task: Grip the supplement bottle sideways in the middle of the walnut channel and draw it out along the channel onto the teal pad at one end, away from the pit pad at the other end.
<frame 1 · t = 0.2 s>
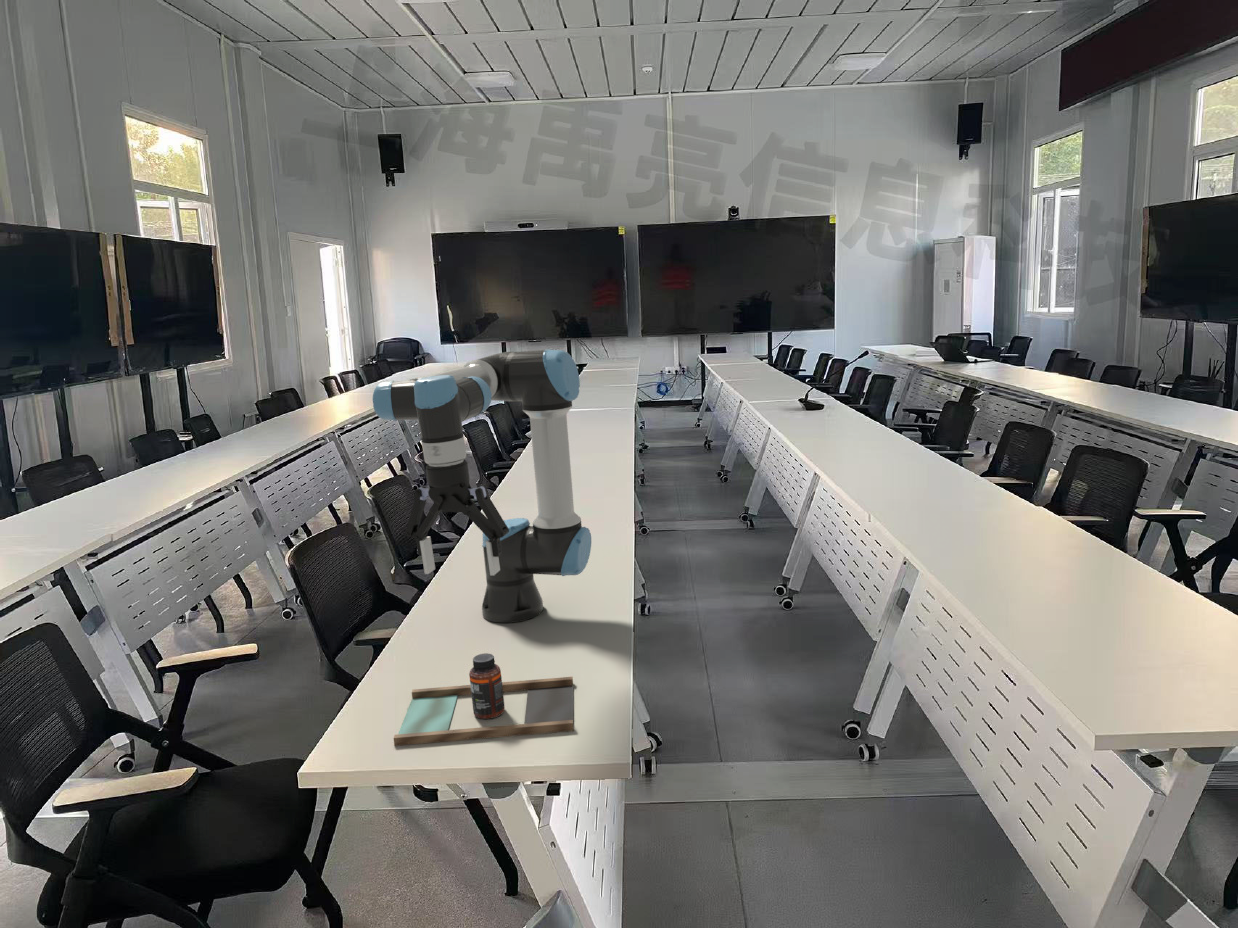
hand: (462, 572, 161), 27 cm above the table, tool pointing down, fingers open, 13 cm apart
channel track: (489, 712, 164), on the table
supplement bottle: (489, 713, 164), on the table
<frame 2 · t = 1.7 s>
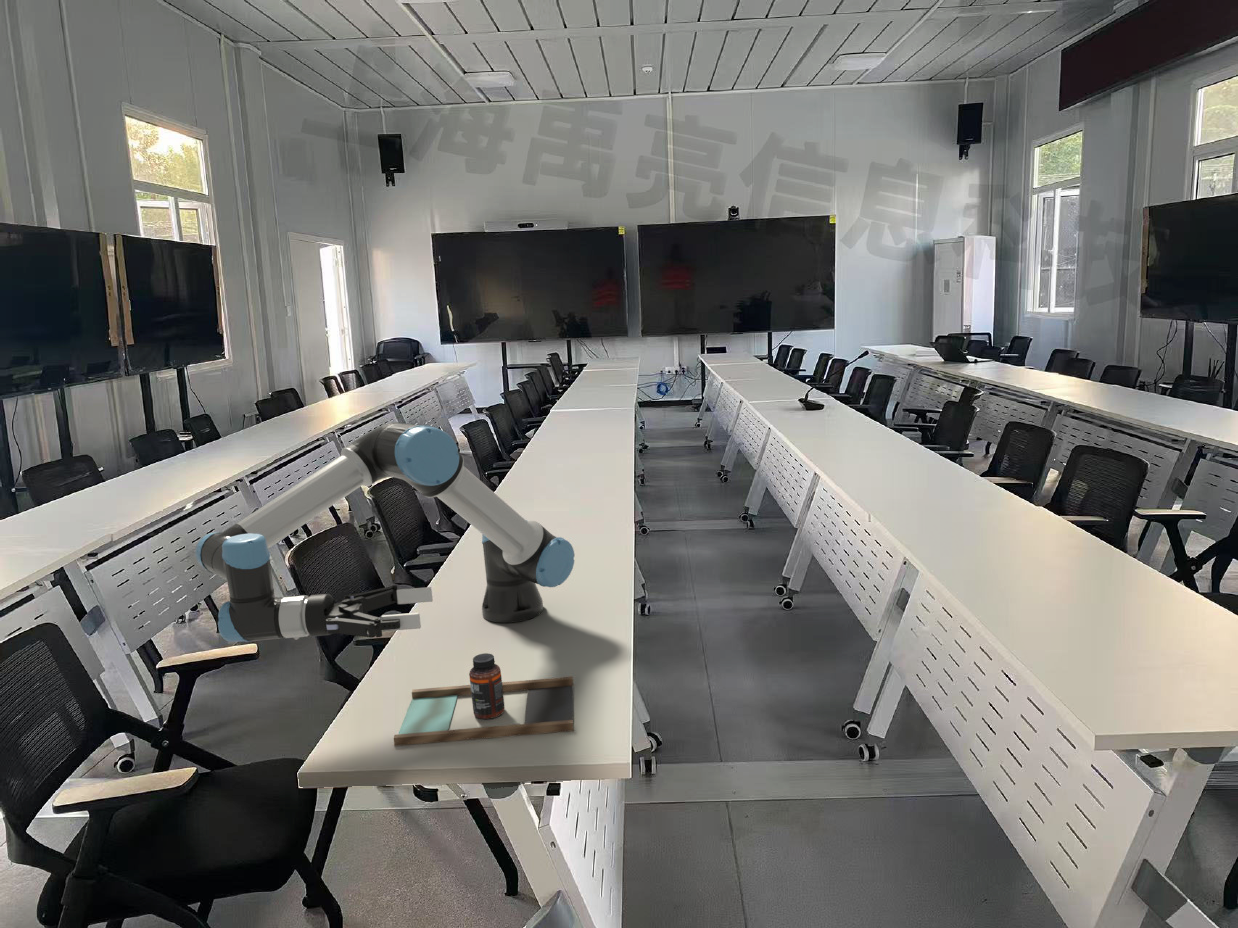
hand: (426, 606, 159), 22 cm above the table, tool horizontal, fingers open, 13 cm apart
nothing on the table moved.
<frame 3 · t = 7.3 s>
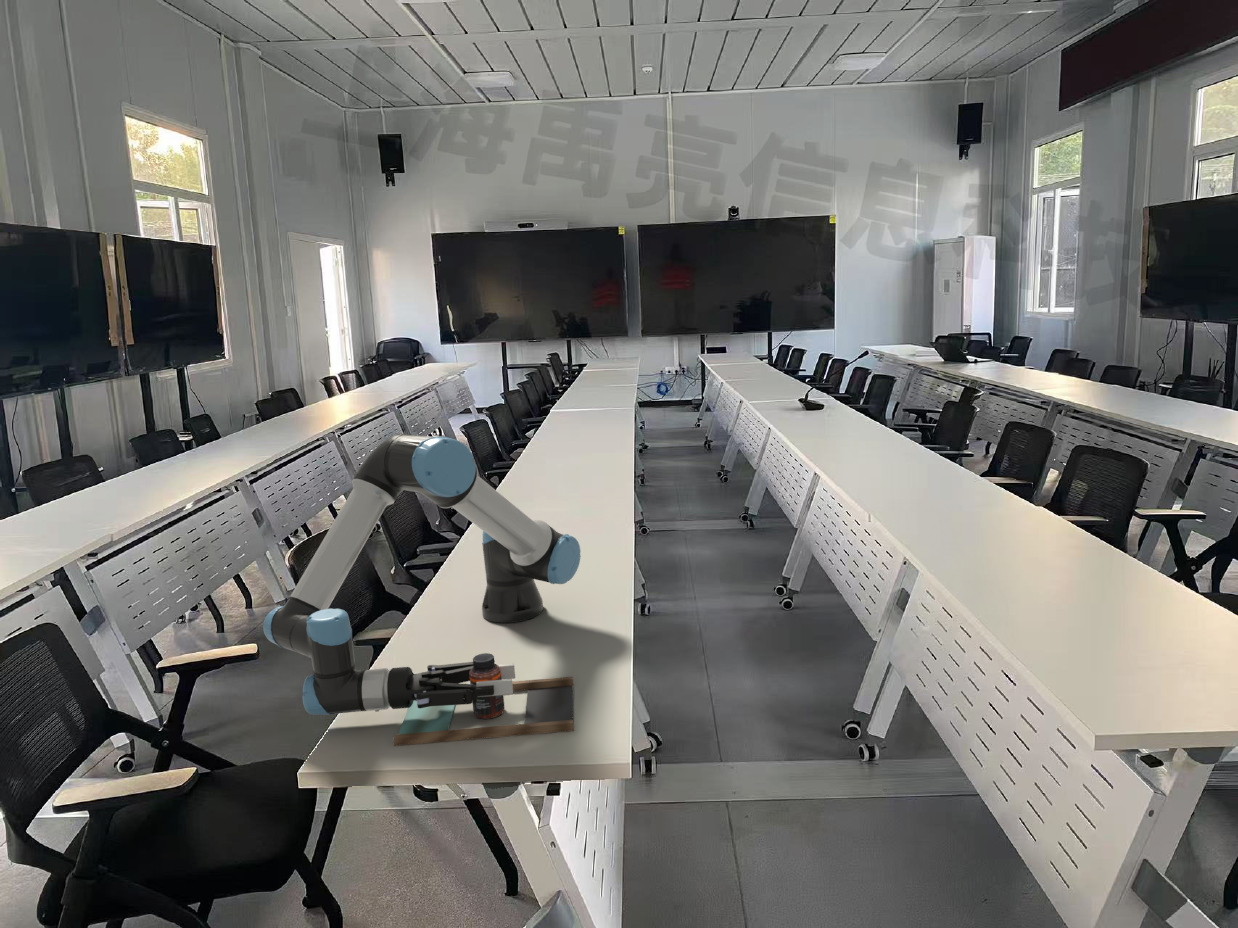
hand: (513, 678, 163), 7 cm above the table, tool horizontal, fingers closed on supplement bottle, 6 cm apart
supplement bottle: (489, 713, 164), on the table, touching gripper
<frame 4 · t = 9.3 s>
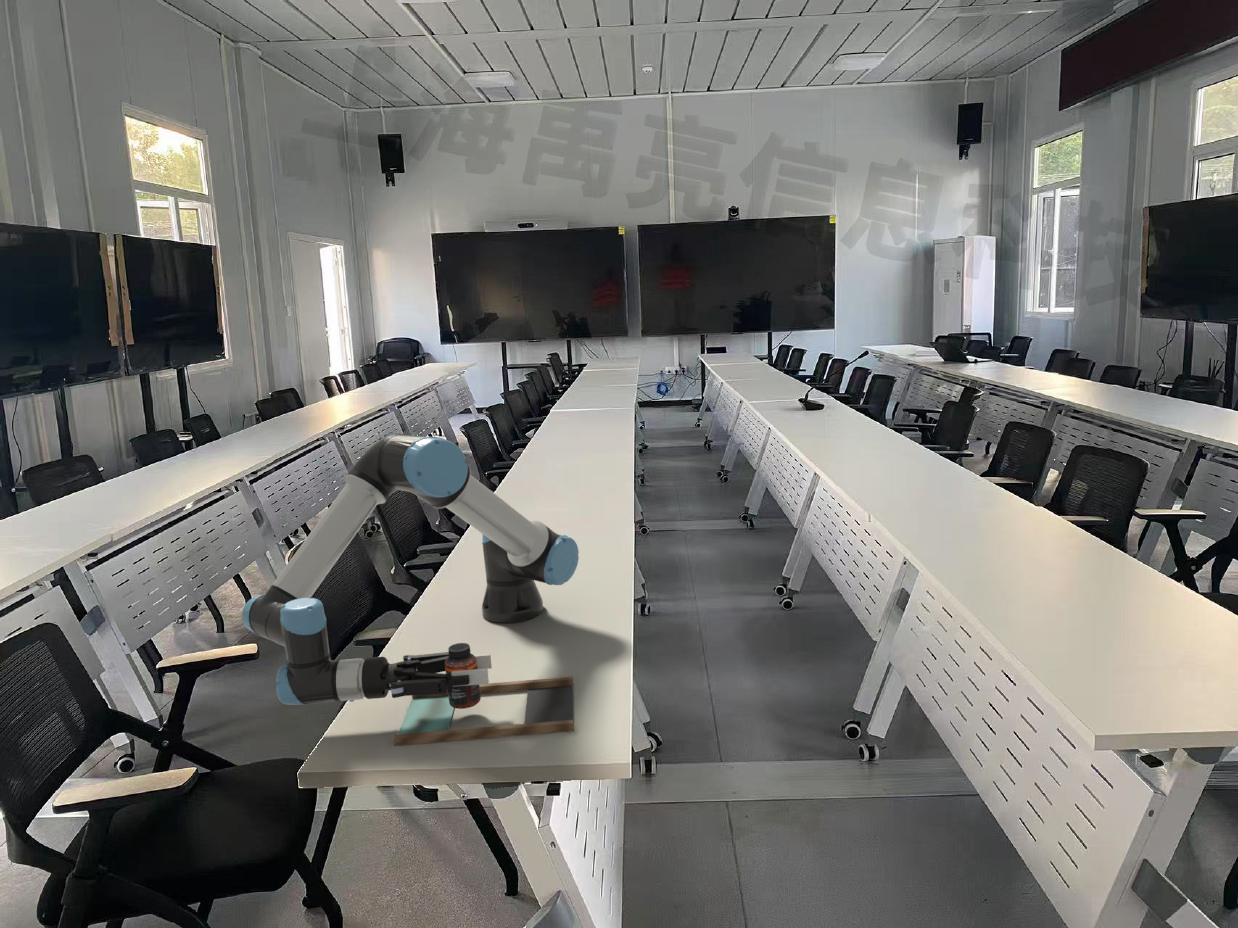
hand: (489, 668, 162), 9 cm above the table, tool horizontal, fingers closed on supplement bottle, 6 cm apart
supplement bottle: (465, 703, 163), point 2 cm above the table, touching gripper
when the fingers open (7 cm above the table, at t = 11.5 s): supplement bottle stays where it is, resting on channel track.
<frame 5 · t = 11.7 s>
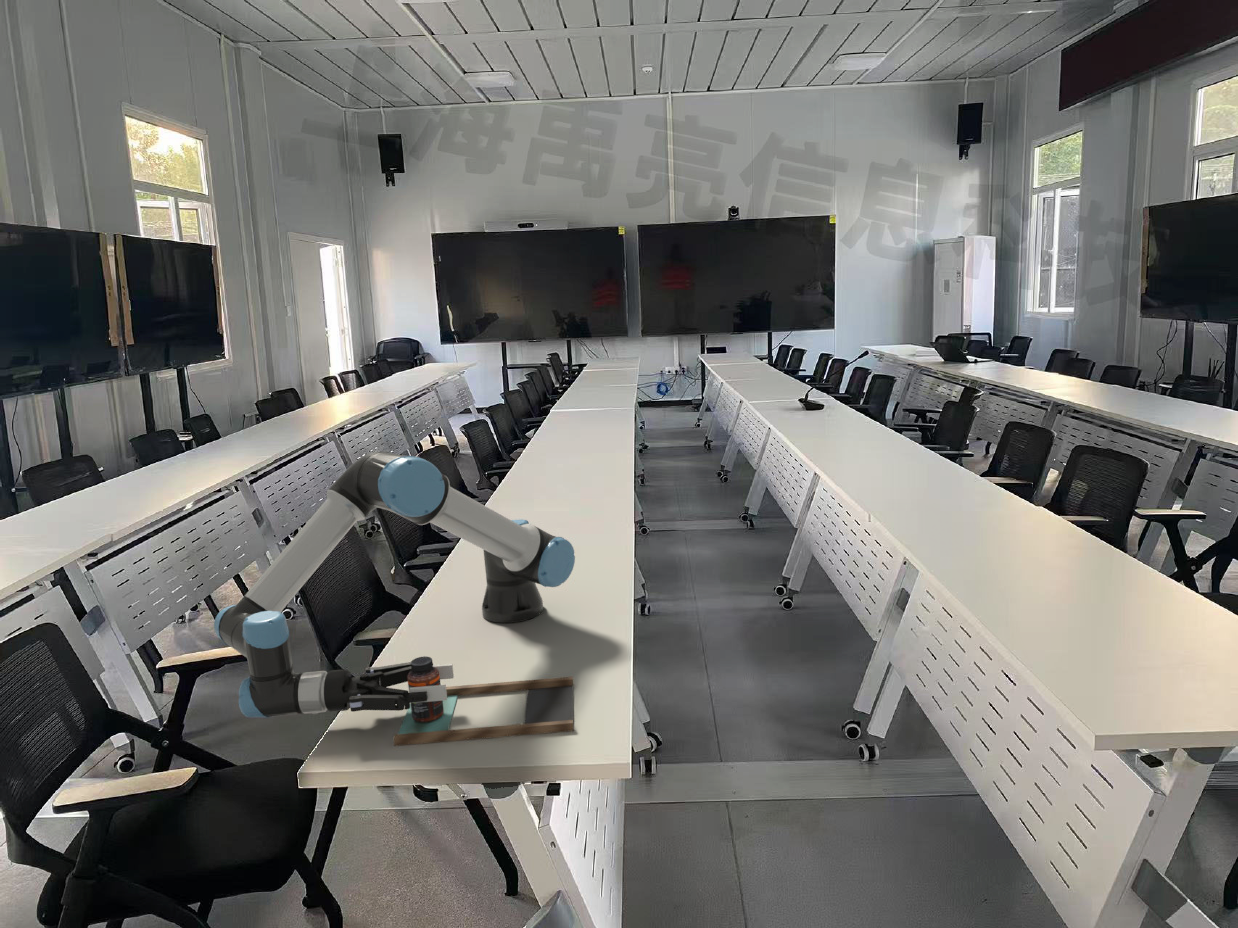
hand: (449, 681, 162), 7 cm above the table, tool horizontal, fingers open, 8 cm apart
supplement bottle: (428, 717, 163), resting on channel track
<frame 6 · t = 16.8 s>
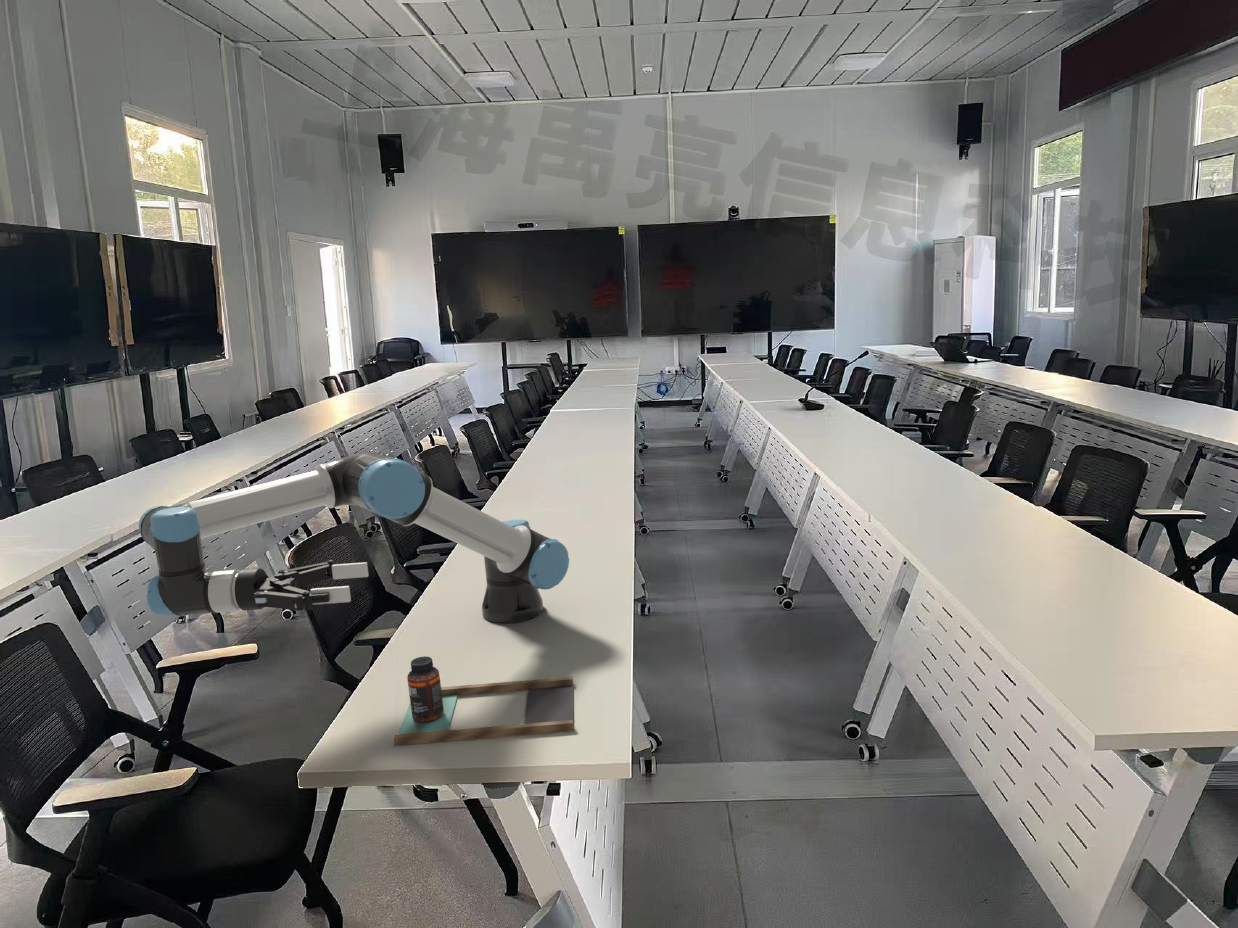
hand: (359, 581, 157), 28 cm above the table, tool horizontal, fingers open, 13 cm apart
nothing on the table moved.
at the end: supplement bottle inside the target area on the channel track (0.1 cm from its centre), point 0.1 cm above the channel track's base; supplement bottle tilted 0°; the gripper is holding nothing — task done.
